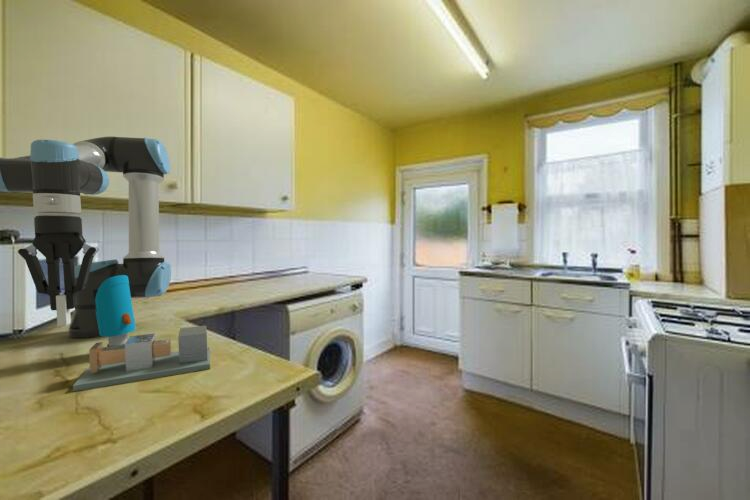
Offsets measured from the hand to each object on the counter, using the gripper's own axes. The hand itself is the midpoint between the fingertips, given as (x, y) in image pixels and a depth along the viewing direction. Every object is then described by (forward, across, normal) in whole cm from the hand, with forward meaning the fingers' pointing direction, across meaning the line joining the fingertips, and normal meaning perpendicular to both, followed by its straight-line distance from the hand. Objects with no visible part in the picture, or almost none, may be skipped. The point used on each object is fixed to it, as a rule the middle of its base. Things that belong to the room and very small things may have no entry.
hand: (64, 324), depth 75 cm
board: (+13, +15, 0) cm, 20 cm away
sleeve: (+12, +14, 0) cm, 18 cm away
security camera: (+13, +6, +18) cm, 23 cm away
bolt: (+11, +12, 0) cm, 16 cm away
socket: (+12, +25, 0) cm, 27 cm away
